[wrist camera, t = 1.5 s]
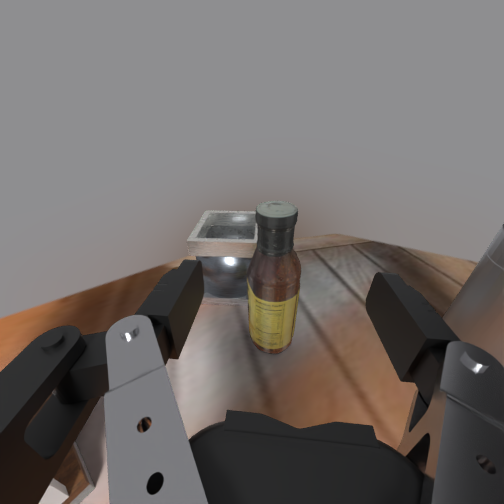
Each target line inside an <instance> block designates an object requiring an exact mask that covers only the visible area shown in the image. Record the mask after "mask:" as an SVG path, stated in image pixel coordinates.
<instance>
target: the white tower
mask: <svg viewBox="0 0 504 504" xmlns="http://www.w3.org/2000/svg"><path fill="white" fill-rule="evenodd" d="M52 394H53V393H51V394H50V395H49V397H48V398H47V399H46V401H45V402H44V403H43V405H42V406H41V407H40V408H39V410H38V411H37V412H36V414H35V415H34V416H33V418H32V419H31V420H30V422H29V424H30V423H31V422H32V420H33V419H34V418H35V416H36V415H37V414H38V413H39V411H40V410H41V409H42V407H43V406H44V405H45V403H46V402H47V401H48V399H49V398H50V397H51V395H52ZM29 424H28V425H27V427H28V426H29ZM94 489H95V486H94V484H93V482H92V479H91V477H90V475H89V472H88V470H87V468H86V465H85V463H84V460H83V458H82V456H81V453H80V451H79V449H78V446H77V444H76V442H74V443H73V445H72V447H71V449H70V450H69V452H68V454H67V455H66V457H65V459H64V461H63V462H62V464H61V466H60V468H59V469H58V471H57V473H56V474H55V476H54V478H53V480H52V481H51V483H50V485H49V487H48V488H47V490H46V492H45V493H44V495H43V497H42V499H41V500H40V502H39V504H79V503H80V502H81V501H82V500H84V499H85V498H86V497H87V496H88V495H89V494H90V493H91V492H92V491H93V490H94Z"/></svg>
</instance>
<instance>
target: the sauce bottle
mask: <svg viewBox="0 0 504 504" xmlns="http://www.w3.org/2000/svg"><path fill="white" fill-rule="evenodd" d="M297 216H298V209H297V207H296V206H295V205H293V204H291V203H288V202H284V201H270V202H264V203H261V204H259V205H258V206H257V208H256V215H255V219H256V223H257V226H258V227H257V229H258V233H257V236H258V240H257V247H256V249H255V252H254V254H253V257H252V259H251V262H250V264H249V267H248V270H247V288H248V290H247V291H248V313H249V332H250V336H251V338H252V341H253V343H254V344H255V345H256V347H257V348H258V349H259V350H261V351H263V352H266V353H271V354H272V353H274V354H277V353H280V352H282V351H283V350H285V349H286V348H287V347H288V346H289V345H290V344H291V341H292V337H293V334H294V328H295V321H296V313H297V306H298V298H299V290H300V275H301V265H300V261H299V259H298V257H297V254H296V253H295V251H294V250H293V246H294V242H293V236H294V227H295V224H296V222H297Z"/></svg>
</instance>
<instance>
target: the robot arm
mask: <svg viewBox="0 0 504 504" xmlns="http://www.w3.org/2000/svg"><path fill="white" fill-rule="evenodd" d="M203 296H204V278H203V269H202V263H201V261H200V260H183V262H182V263H181V265H180V266H179V268H178V269H172V270H170V271H169V272H168V273H166V274H165V275H163V277H162V278H161V279H160V281H159V282H158V285H156V286H155V287H154V289H153V291H152V292H151V293H150V294H149V296H148V297H147V298H146V300H145V301H144V303H143V304H142V305H141V307H140V308H139V309H138V311H137V312H136V313H135V315H132V316H128V317H125V318H123V319H121V320H119V321H118V322H116V323H115V324H114V325H112V326H111V327H110V329H109V330H108V331H106V332H100V333H94V334H89V335H83V336H82V334H81V332H80V331H79V329H78V328H77V327H75V326H61V327H57V328H54V329H51V330H49V331H47V332H45V333H43V334H42V335H40V336H39V337H37V338H36V339H35V340H33V341H32V342H31V343H30V344H29V345H28V346H27V347H26V348H25V349H24V350H23V351H22V352H21V353H20V354H19V355H18V356H17V357H16V358H15V359H14V360H13V361H12V362H10V363H9V364H8V365H7V366H6V367H5V368H4V369H3V370H2V371H1V372H0V504H39V502H40V500H41V499H42V497H43V495H44V493H45V492H46V490H47V488H48V487H49V485H50V483H51V481H52V480H53V478H54V476H55V474H56V473H57V471H58V469H59V468H60V466H61V464H62V462H63V461H64V459H65V457H66V455H67V454H68V452H69V450H70V449H71V447H72V445H73V443H74V442H75V440H76V438H77V436H78V435H79V433H80V431H81V430H82V428H83V426H84V424H85V423H86V421H87V419H88V417H89V416H90V414H91V412H92V410H93V409H94V407H95V405H96V404H97V402H98V400H99V398H100V397H101V396H104V412H105V430H106V448H107V465H108V483H109V501H110V504H504V224H503V226H502V227H501V229H500V230H499V232H498V233H497V235H496V236H495V238H494V239H493V241H492V243H491V244H490V246H489V247H488V249H487V250H486V252H485V254H484V255H483V257H482V258H481V260H480V261H479V263H478V264H477V266H476V267H475V269H474V270H473V272H472V273H471V275H470V276H469V278H468V279H467V281H466V282H465V284H464V285H463V287H462V289H461V290H460V292H459V293H458V295H457V296H456V298H455V299H454V301H453V302H452V304H451V305H450V307H449V308H448V310H447V311H446V313H445V314H444V316H443V317H442V318H441V317H440V315H439V314H438V313H436V312H435V310H434V308H433V307H432V306H431V305H429V303H428V301H427V300H426V299H425V298H424V297H423V296H422V294H421V293H419V292H418V291H416V290H415V289H413V288H412V287H411V286H408V285H406V284H405V282H404V281H403V280H402V279H401V277H400V276H399V275H398V274H396V273H381V272H378V273H376V274H375V276H374V278H373V281H372V284H371V287H370V290H369V292H368V295H367V298H366V310H367V313H368V315H369V317H370V319H371V321H372V323H373V325H374V327H375V329H376V332H377V334H378V336H379V338H380V340H381V342H382V344H383V346H384V348H385V350H386V352H387V354H388V356H389V358H390V360H391V362H392V364H393V366H394V369H395V371H396V373H397V375H398V377H399V379H400V381H402V382H413V383H415V384H416V386H417V390H416V391H415V393H414V397H413V400H412V404H411V408H410V412H409V415H408V419H407V423H406V427H405V430H404V434H403V437H402V440H401V442H400V444H399V446H398V448H397V450H395V449H393V448H392V447H390V446H389V445H387V444H385V443H383V442H381V441H379V440H377V439H376V436H375V432H374V429H373V426H371V425H361V424H352V423H343V422H332V423H327V424H322V425H317V426H312V427H307V428H302V429H299V428H295V427H293V426H290V425H288V424H285V423H283V422H280V421H278V420H276V419H273V418H271V417H268V416H266V415H264V414H260V413H251V412H242V411H232V410H227V413H226V419H225V421H223V422H219V423H216V424H213V425H210V426H208V427H206V428H204V429H202V430H201V431H199V432H198V433H196V434H195V435H194V436H192V437H191V438H190V439H189V440H188V438H187V434H186V431H185V428H184V425H183V422H182V418H181V415H180V412H179V409H178V406H177V402H176V399H175V396H174V393H173V390H172V386H171V383H170V380H169V377H168V374H167V370H166V367H165V365H166V363H167V361H168V359H169V358H170V359H178V358H179V356H180V354H181V351H182V349H183V346H184V344H185V341H186V339H187V336H188V334H189V332H190V329H191V327H192V324H193V322H194V319H195V317H196V314H197V312H198V310H199V307H200V305H201V302H202V300H203ZM51 393H53V394H52V395H51V397H50V398H49V399H48V401H47V402H46V403H45V405H44V406H43V407H42V409H41V410H40V411H39V413H38V414H37V415H36V416H35V418H34V419H33V420H32V422H31V423H30V424H29V422H30V420H31V419H32V418H33V416H34V415H35V414H36V412H37V411H38V410H39V408H40V407H41V406H42V405H43V403H44V402H45V401H46V399H47V398H48V397H49V395H50V394H51ZM28 424H29V426H28V427H27V425H28Z"/></svg>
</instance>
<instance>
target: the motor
mask: <svg viewBox="0 0 504 504" xmlns="http://www.w3.org/2000/svg"><path fill="white" fill-rule="evenodd" d="M255 215H256V212H248V211H205V213H204V214H203V216H202V218H201V219H200V221H199V222H198V224H197V226H196V227H195V229H194V230H193V232H192V233H191V235H190V237H189V238H188V240H187V245H188V251H189V256H196V260H200V261H201V263H202V269H203V278H204V296H203V300H202V302H201V304H217V305H239V306H248V291H247V290H248V288H247V270H248V267H249V264H250V262H251V259H252V257H253V254H254V252H255V249H256V247H257V240H258V236H257V233H258V229H257V227H258V226H257V223H256V219H255ZM211 225H214V226H211ZM254 226H256V227H254Z"/></svg>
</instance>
